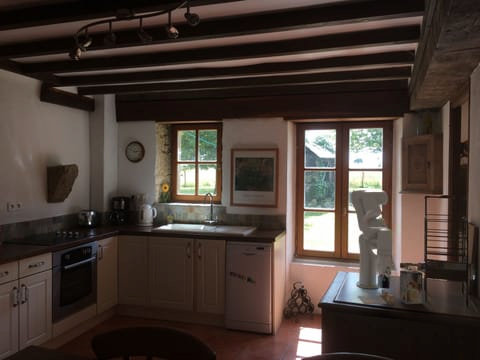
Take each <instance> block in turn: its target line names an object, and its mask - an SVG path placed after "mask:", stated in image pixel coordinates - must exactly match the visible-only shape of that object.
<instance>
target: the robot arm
mask: <svg viewBox="0 0 480 360" xmlns="http://www.w3.org/2000/svg"><path fill="white" fill-rule="evenodd" d="M350 196H351V197H350V199H351V203H352V206H353V208H354V210H355V214H356V218H357V223H358V224H357V225H358V229H359V230H360V232H361V234H359V236H358V245H359V246H358V247H359V271H358V273H359V274H358V275H359V276H358V277H359V278H358V279H359V281H357V282H356V287H359V288H362V289H369V290H373V289H374V290H376V289H379V287H378V282H377V273H378V276H379V275H381V276H383V281H382V288H381V289H384V290H387V289H389V278H390V279H391V276H392V256H393V231H392V229H390V228H388V227H387V222H386V220H385V219H384V218H383V217H381V215H382V209H381V206H385V205H386V204H387V203H388V201H389V200H388V199H389V197H388V194H387V192H386V191H385V190H383V189H379V188H357V189H354V190H353V191H351V195H350ZM374 250H376V253H375V252H374ZM385 276H386V277H385Z"/></svg>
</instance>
